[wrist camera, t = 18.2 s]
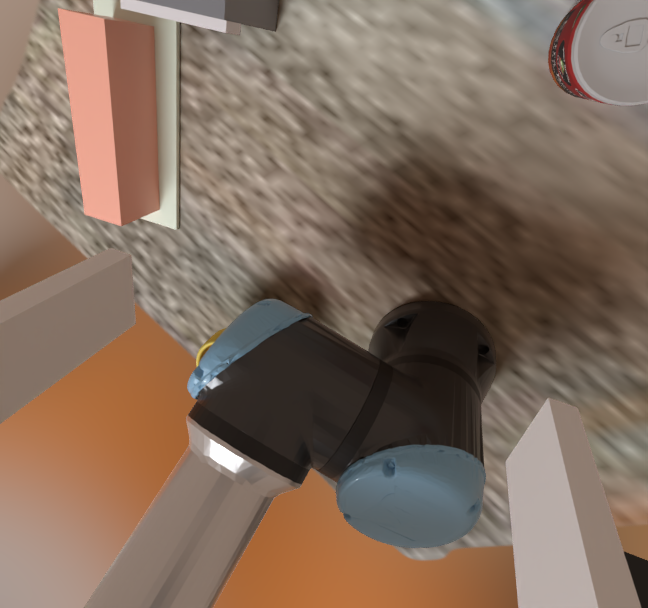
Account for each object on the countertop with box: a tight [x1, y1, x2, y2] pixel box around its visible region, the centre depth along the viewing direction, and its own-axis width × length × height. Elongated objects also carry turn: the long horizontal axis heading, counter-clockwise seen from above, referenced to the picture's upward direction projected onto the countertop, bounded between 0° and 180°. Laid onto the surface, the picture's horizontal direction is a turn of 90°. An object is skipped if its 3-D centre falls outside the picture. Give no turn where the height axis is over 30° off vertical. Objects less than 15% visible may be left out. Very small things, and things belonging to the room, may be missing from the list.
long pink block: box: [58, 8, 160, 226], centre depth 46 cm, size 20×5×7 cm, turn 169°
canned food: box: [548, 0, 648, 106], centre depth 29 cm, size 8×8×11 cm
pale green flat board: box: [93, 0, 180, 230], centre depth 49 cm, size 24×10×1 cm, turn 169°
